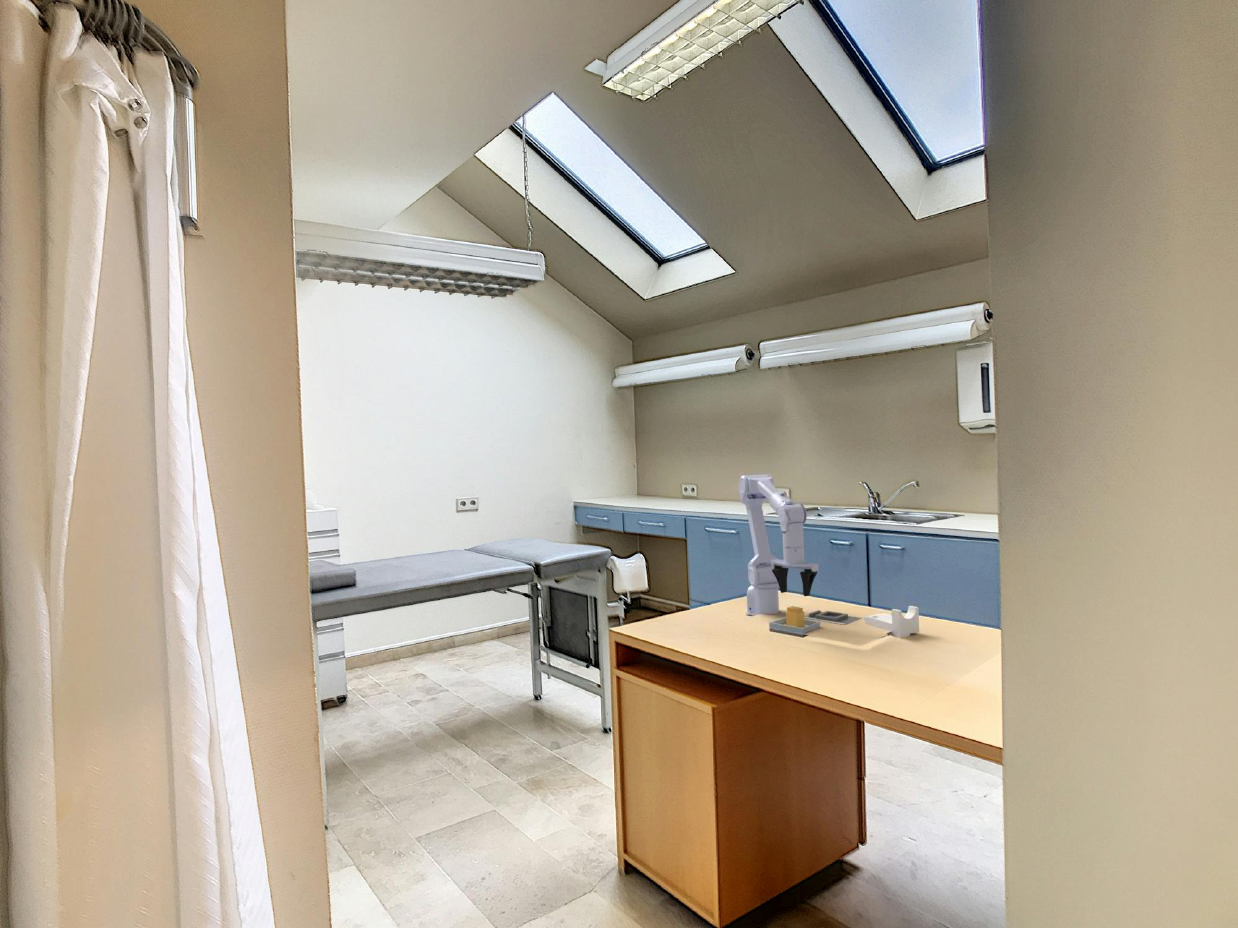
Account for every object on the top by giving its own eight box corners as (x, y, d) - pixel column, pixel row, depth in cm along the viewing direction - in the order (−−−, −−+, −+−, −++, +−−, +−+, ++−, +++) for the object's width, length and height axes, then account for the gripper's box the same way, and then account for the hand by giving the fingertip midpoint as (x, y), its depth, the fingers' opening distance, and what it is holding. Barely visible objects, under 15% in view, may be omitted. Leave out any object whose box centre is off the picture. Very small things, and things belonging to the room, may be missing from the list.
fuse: (786, 628, 202) (785, 608, 202) (794, 626, 205) (793, 605, 204) (797, 631, 200) (796, 609, 199) (804, 628, 202) (803, 607, 202)
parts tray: (769, 631, 203) (769, 622, 203) (787, 624, 209) (786, 616, 209) (803, 637, 195) (802, 628, 195) (820, 630, 201) (820, 622, 201)
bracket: (919, 635, 193) (918, 607, 193) (899, 639, 190) (898, 611, 190) (883, 625, 205) (882, 599, 205) (864, 628, 202) (863, 602, 202)
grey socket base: (801, 621, 212) (801, 614, 212) (819, 615, 218) (819, 608, 218) (844, 629, 201) (844, 621, 201) (862, 622, 208) (862, 614, 208)
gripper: (823, 546, 200) (825, 594, 200) (780, 543, 210) (781, 588, 211) (809, 550, 195) (811, 599, 195) (765, 546, 206) (767, 592, 206)
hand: (795, 594), depth 203 cm, fingers open, 7 cm apart
